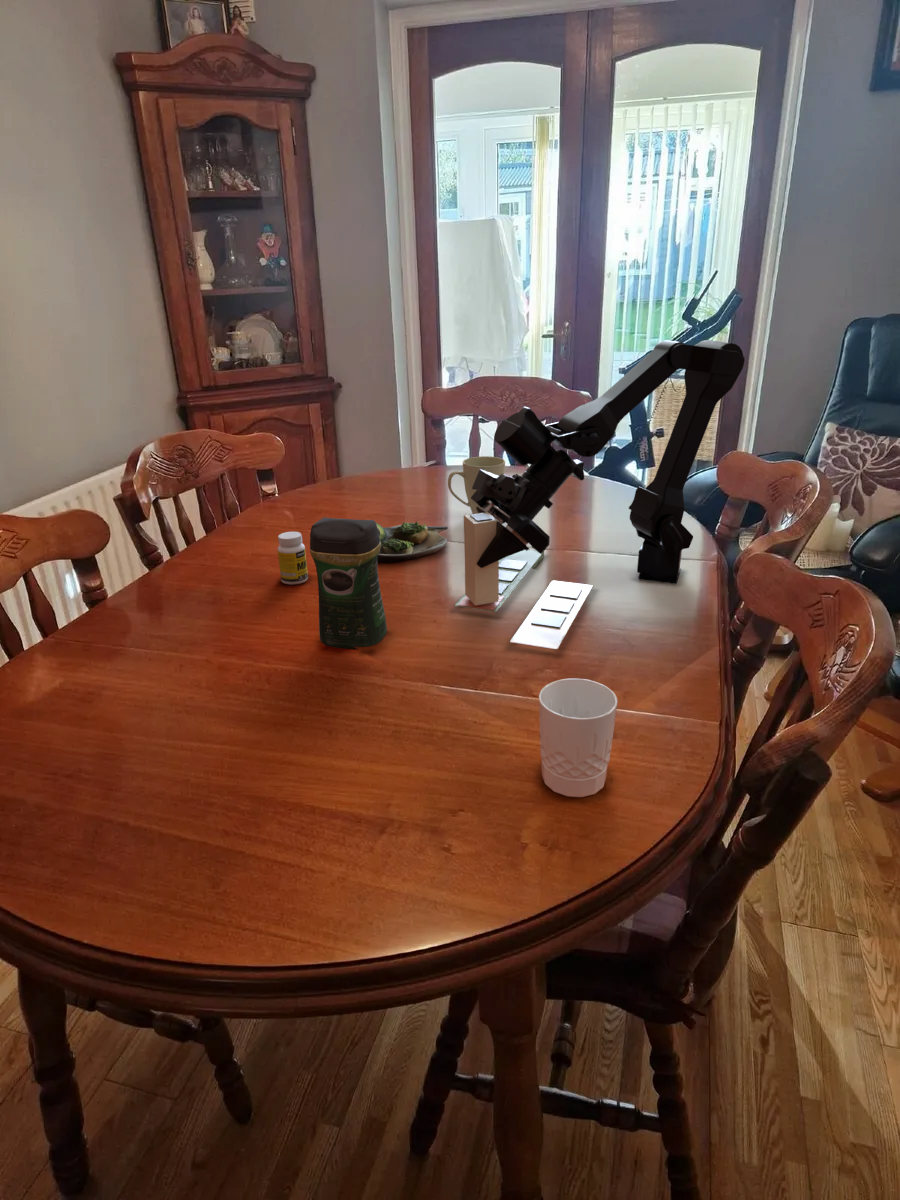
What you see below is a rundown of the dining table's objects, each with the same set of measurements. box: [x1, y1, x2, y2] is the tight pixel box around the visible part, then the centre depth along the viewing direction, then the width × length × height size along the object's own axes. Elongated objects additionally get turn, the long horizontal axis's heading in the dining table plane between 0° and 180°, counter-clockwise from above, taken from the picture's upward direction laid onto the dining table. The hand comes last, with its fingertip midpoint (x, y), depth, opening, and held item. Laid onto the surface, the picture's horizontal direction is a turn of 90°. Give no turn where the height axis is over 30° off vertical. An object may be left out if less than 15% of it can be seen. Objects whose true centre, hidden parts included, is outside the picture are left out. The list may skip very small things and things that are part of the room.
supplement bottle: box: [277, 531, 309, 586], centre depth 131 cm, size 5×5×8 cm
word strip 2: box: [509, 579, 594, 651], centre depth 117 cm, size 24×7×1 cm, turn 158°
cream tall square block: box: [463, 512, 499, 606], centre depth 118 cm, size 4×4×14 cm
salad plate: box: [376, 521, 449, 563], centre depth 147 cm, size 19×18×5 cm
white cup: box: [538, 677, 618, 798], centre depth 79 cm, size 8×8×10 cm
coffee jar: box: [309, 516, 388, 651], centre depth 108 cm, size 10×8×19 cm
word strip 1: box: [454, 549, 545, 613], centre depth 130 cm, size 28×7×1 cm, turn 158°
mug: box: [447, 455, 506, 514], centre depth 161 cm, size 11×10×12 cm
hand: (473, 560), depth 117 cm, fingers closed on cream tall square block, 4 cm apart
